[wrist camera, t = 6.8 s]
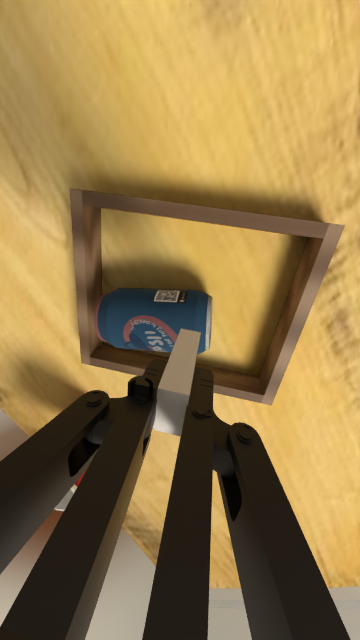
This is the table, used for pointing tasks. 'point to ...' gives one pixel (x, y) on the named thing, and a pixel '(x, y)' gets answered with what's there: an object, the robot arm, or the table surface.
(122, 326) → the soda can
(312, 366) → the table surface
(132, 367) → the walnut tray frame
